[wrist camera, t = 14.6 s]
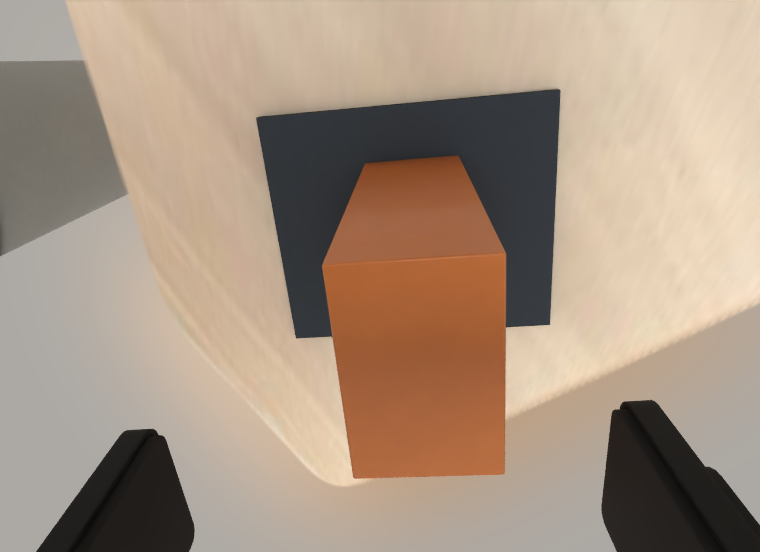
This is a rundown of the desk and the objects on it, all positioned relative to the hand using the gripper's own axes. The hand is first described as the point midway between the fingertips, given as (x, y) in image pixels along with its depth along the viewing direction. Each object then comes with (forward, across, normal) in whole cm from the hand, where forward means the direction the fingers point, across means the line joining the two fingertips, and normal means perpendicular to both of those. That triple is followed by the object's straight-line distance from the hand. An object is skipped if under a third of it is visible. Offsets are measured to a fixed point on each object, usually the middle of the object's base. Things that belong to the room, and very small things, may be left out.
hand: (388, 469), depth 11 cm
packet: (+16, -1, 0) cm, 16 cm away
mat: (+17, -1, 0) cm, 17 cm away
